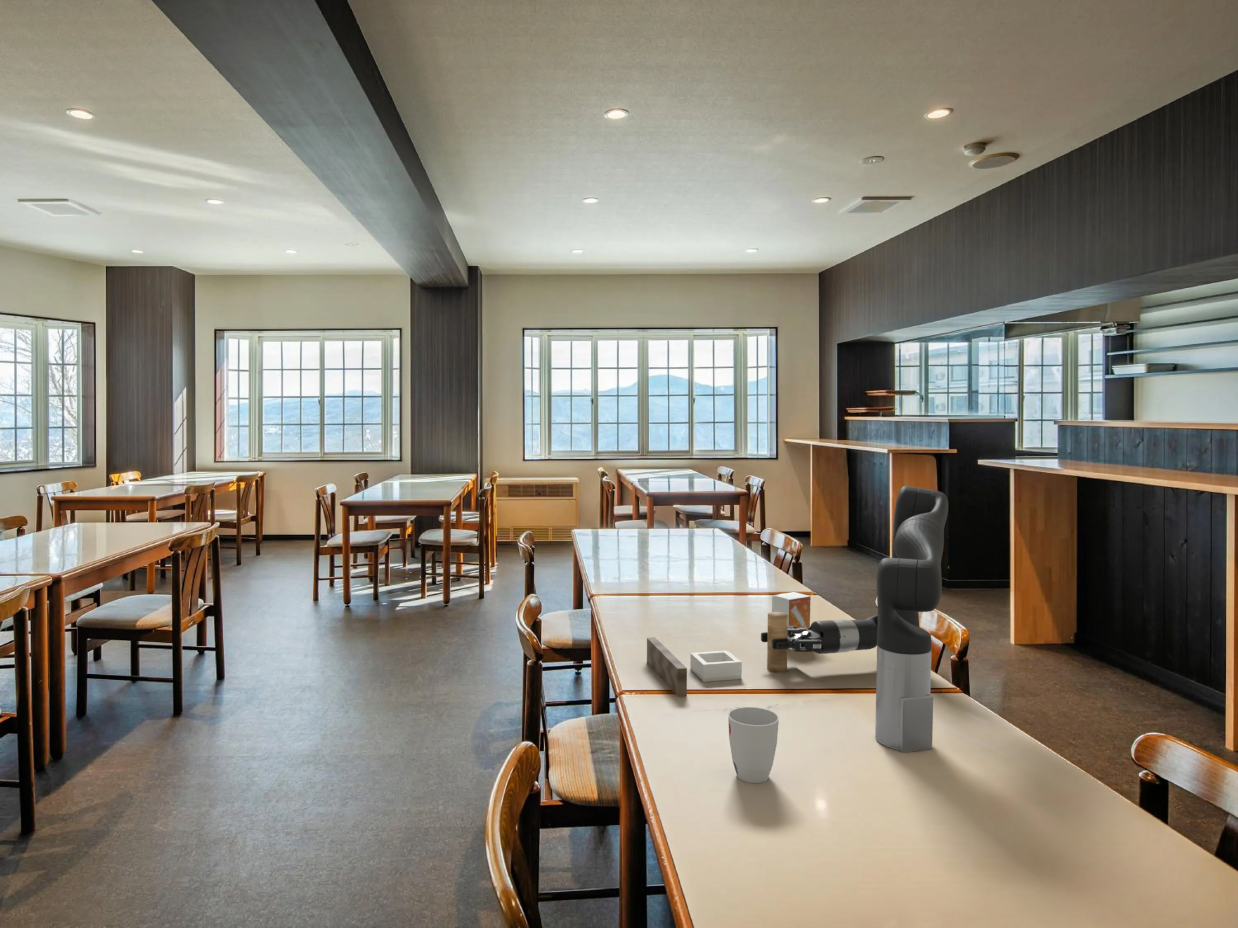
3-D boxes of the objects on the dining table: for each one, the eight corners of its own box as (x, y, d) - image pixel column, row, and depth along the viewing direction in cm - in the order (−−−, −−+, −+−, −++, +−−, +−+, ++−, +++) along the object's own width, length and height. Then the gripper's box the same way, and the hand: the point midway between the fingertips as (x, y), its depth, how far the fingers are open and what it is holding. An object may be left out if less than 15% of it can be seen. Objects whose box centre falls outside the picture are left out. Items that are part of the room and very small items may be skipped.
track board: (766, 694, 164) (766, 662, 164) (676, 702, 159) (676, 668, 159) (725, 661, 187) (725, 632, 187) (645, 666, 183) (645, 637, 182)
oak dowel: (790, 676, 176) (791, 616, 175) (772, 678, 175) (772, 617, 174) (781, 670, 180) (782, 611, 180) (763, 672, 179) (764, 612, 178)
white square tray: (741, 678, 171) (741, 661, 171) (703, 681, 169) (703, 664, 168) (726, 666, 179) (726, 650, 179) (690, 669, 177) (690, 652, 177)
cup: (743, 760, 132) (744, 703, 131) (786, 774, 126) (787, 714, 126) (718, 777, 125) (718, 716, 125) (762, 792, 120) (763, 729, 120)
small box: (788, 649, 197) (789, 599, 197) (770, 643, 203) (771, 594, 202) (810, 644, 202) (811, 595, 201) (792, 639, 207) (793, 591, 206)
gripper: (819, 613, 187) (754, 616, 183) (850, 628, 173) (780, 632, 169) (819, 643, 188) (754, 648, 184) (849, 661, 174) (780, 666, 170)
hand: (767, 640), depth 177 cm, fingers open, 5 cm apart
